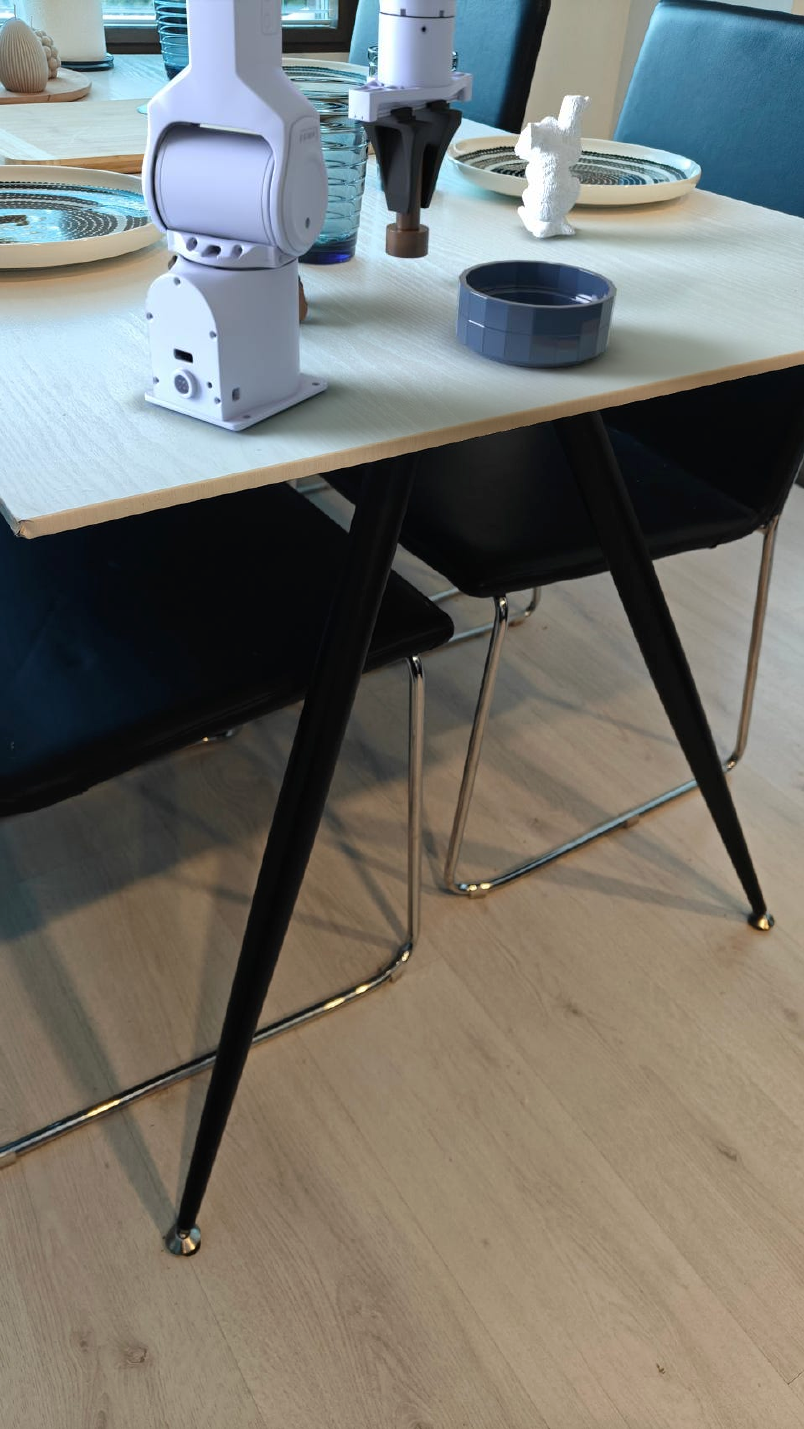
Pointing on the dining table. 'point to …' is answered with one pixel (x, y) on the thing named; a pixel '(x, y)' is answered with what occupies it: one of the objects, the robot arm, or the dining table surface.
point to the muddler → (408, 231)
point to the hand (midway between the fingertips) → (408, 209)
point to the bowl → (534, 312)
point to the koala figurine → (552, 168)
